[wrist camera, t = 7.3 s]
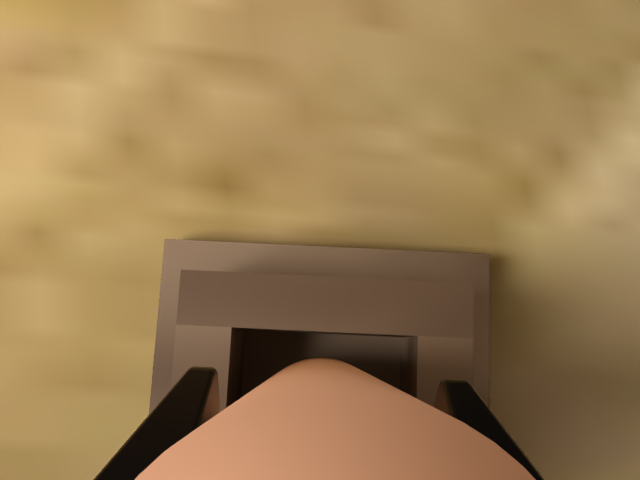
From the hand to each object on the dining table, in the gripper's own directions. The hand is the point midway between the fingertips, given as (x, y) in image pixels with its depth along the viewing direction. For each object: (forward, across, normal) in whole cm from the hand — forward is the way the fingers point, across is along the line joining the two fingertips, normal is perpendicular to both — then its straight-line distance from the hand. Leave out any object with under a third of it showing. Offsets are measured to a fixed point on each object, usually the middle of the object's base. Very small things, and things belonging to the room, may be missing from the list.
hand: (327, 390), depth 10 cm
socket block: (+6, 0, +8) cm, 10 cm away
